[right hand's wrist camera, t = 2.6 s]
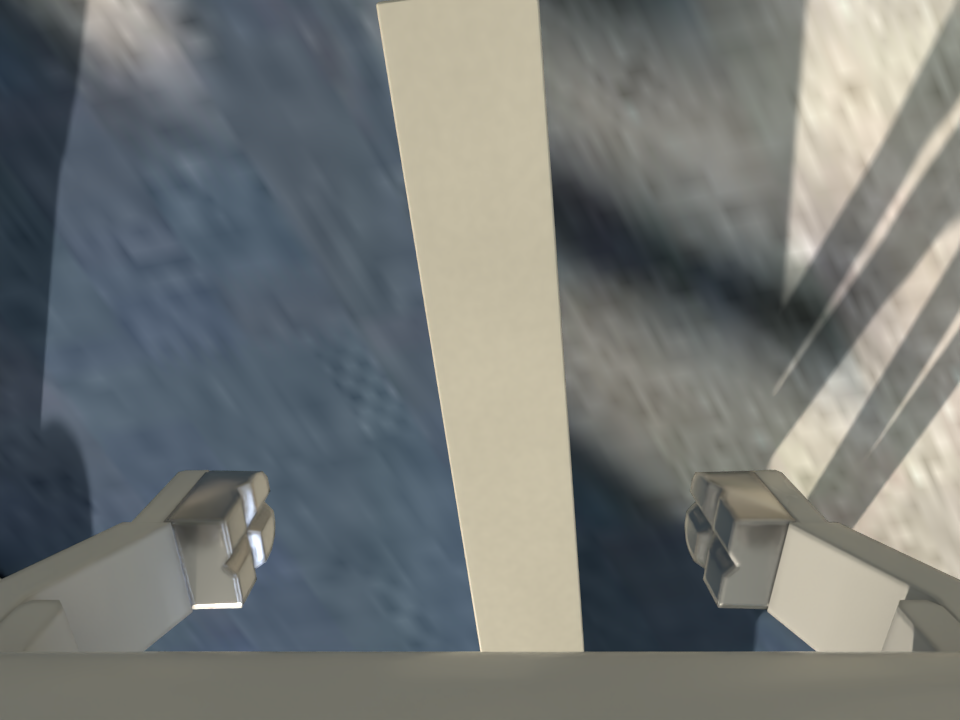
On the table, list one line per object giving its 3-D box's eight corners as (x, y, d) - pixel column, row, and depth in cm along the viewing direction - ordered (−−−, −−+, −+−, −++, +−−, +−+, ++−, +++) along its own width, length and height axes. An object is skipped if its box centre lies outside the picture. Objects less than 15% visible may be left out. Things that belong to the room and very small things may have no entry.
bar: (401, 45, 25) (375, 1, 18) (517, 30, 25) (538, -21, 17) (527, 882, 48) (538, 1011, 40) (587, 876, 47) (609, 1003, 40)
